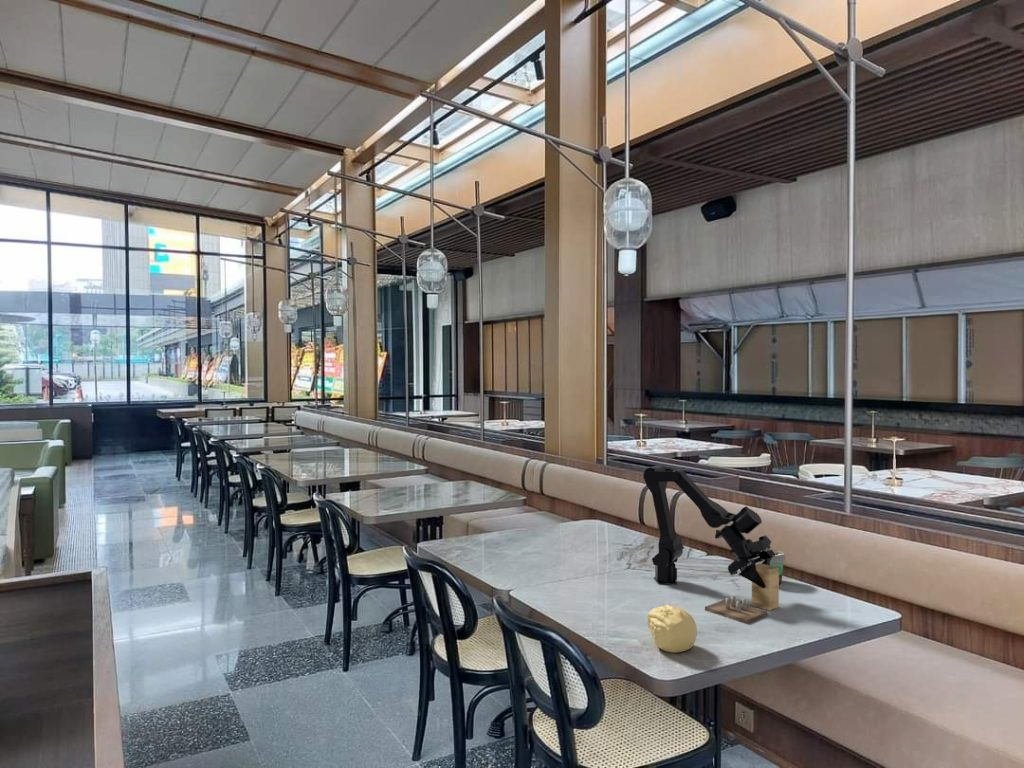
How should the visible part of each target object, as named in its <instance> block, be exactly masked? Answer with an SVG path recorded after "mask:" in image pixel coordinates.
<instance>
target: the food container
mask: <svg viewBox="0 0 1024 768" xmlns="http://www.w3.org/2000/svg"><path fill="white" fill-rule="evenodd" d="M774 553H775V554H776V555H775V556H774V557H773V558H772V559H771V561H770V566H773V567H777V568H779V586H780V585H782V584H783V583H782V580H783V572H784V571H783V570H784V563H785V562H786V555H785V553H784V552H783V551H781V550H777V552H774ZM753 561H754V560H753Z"/></svg>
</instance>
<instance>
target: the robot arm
mask: <svg viewBox="0 0 1024 768" xmlns="http://www.w3.org/2000/svg"><path fill="white" fill-rule="evenodd" d="M642 475H643V477H642V478H643V480H644V482H645V485H646V487H647V489H648V490H649V491H650V493H651V496H652V501H653V505H654V511H655V517H656V521H657V527H658V531H659V538H658V544H657V545H658V553H657V554H656V555H654V556H653V557H652V559H651V561H652V565H654V571H655V572H654V577H653V579H654V581H655V582H656V583H657V584H658V585H677V584H678V582H677V580H678V569H677V567H676V563H677V562H678V559H679V558H680V557H682V555H683V553H684V551H683V550H684V549H685V547H684V545H683V542H682V541H683V539H682V537H681V536H677V534H675V531H674V526H673V522H672V516H671V511H670V506H669V505H670V504H669V501H668V497H667V487H668V483H669V482H673V483H675V484H676V485H677V486H678V488H679V489H680V490H681V491H683V493H684V494H685V495H686V496H687V498H689V499H690V500H691V501H692V503H694V505H695V506H696V507H697V508H698V509H699V511H700V513H701V516H702V518H703V520H704V521H705V522H706V524H707V525H708V526H709V527H710V528H713V529H714V528H715V529H716V528H721V527H722V526H723V527H722V528H721V529H716V530H715V535H714V539H722V538H723V540H724V541H725V543H726V544H727V546H728V548H729V549H730V550H729V553H730V554H731V555H733V554H734V555H735V556H736V559H735V560H734V561H732V562H731V563H730V564H729V565H727V571H728V573H729V574H730V576H734V575H737V574H738V576H739V577H740V576H741V577H743V578H745V579H746V580H748V581H750V582H751V583H752V582H753V583H755V584H757V585H758V586H760V587H762V588H765V587H766V585H765V584H764V582H763V580H762V579H761V577H760V575H759V574H758V572H757V571H756V565H758V564H765V565H769V566H770V561H771V559H772V558H773V557H774V556H775V555H776V554H775V553H776V552H774V551H773V549H771V544H772V540H770V538H769V537H768V536H767V535H763V536H759V537H758V540H755V541H753V540H752V539H750V538H748V539H747V538H746V537H745V536H744V534H747V535H748V534H750V533H751V532H752V531H754V529H756V528H758V526H760V525H761V524H762V522H763V520H762V518H761V516H760V515H759V514H758V513H757V512H755V511H754V510H753V509H751V508H749V507H748V506H747V505H746V506H744V507H742V508H741V509H740V511H739V512H737V513H736V514H735V513H733V512H730V511H728V510H727V509H726V508H724V507H723V506H722V505H721V504H719V503H717V502H716V501H713V500H712V499H710V498H709V496H707V495H706V494H705V493H704V492H703V490H702V489H701V488H700V487H699V486H698V485H697V484H696V483H695V481H693V480H692V479H691V477H690V476H688V475H687V473H686V471H685V470H683V469H678V468H677V469H675V468H665V467H663V466H662V465H655V466H654V465H653V466H650V467H647V468H646V469H645V470H644V471H643V474H642ZM728 524H730V525H728ZM724 525H725V526H724ZM753 560H754V561H753ZM738 571H740V572H739V573H738Z"/></svg>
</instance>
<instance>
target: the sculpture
mask: <svg viewBox="0 0 1024 768" xmlns="http://www.w3.org/2000/svg"><path fill="white" fill-rule="evenodd" d="M646 618H647V627H648V629H649V631H650V634H651V637H652V641H653V643H654V644H655V646H656V647H658V648H659V649H661V650H662V651H665V652H668V653H672V654H673V653H676V654H677V653H681V652H685V651H688V650H689V649H691V648H692V647H693V646H694V645H695V643H696V640H697V635H698V629H697V628H698V627H697V624H696V621H695V619H694V618H693V616H692V614H690V613H689V612H688V611H687V610H686V609H684V608H681V607H677V606H672V605H671V604H670V605H669V604H665V605H661V606H655V607H654V608H651V610H650V611H649V612H648V613H647V615H646Z"/></svg>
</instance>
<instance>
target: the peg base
mask: <svg viewBox="0 0 1024 768" xmlns="http://www.w3.org/2000/svg"><path fill="white" fill-rule="evenodd" d="M730 597H731V599H730ZM730 597H725V599H722V600H719V601H717V602H714V603H711V604H709V605H706V606H704V611H707V612H710V613H713V614H716V615H719V616H721V615H722V617H724V618H727V617H728V619H732V620H734V621H736V622H740V623H742V624H746V625H747V624H750V623H752V622H754V621H758V620H759V619H762V618H764V617H766V615H767V616H768V614H769V613H768V612H769V611H768V610H765V609H762V608H758V607H757V608H756V607H755V606H752V605H747V599H745V598H742V599H741V601H739V600H737V601H736V599H737V598H736V595H731V596H730Z"/></svg>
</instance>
